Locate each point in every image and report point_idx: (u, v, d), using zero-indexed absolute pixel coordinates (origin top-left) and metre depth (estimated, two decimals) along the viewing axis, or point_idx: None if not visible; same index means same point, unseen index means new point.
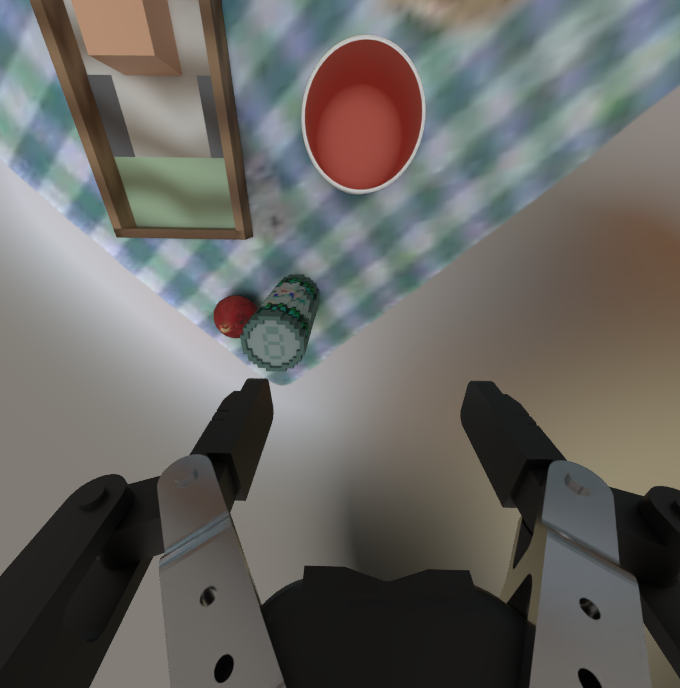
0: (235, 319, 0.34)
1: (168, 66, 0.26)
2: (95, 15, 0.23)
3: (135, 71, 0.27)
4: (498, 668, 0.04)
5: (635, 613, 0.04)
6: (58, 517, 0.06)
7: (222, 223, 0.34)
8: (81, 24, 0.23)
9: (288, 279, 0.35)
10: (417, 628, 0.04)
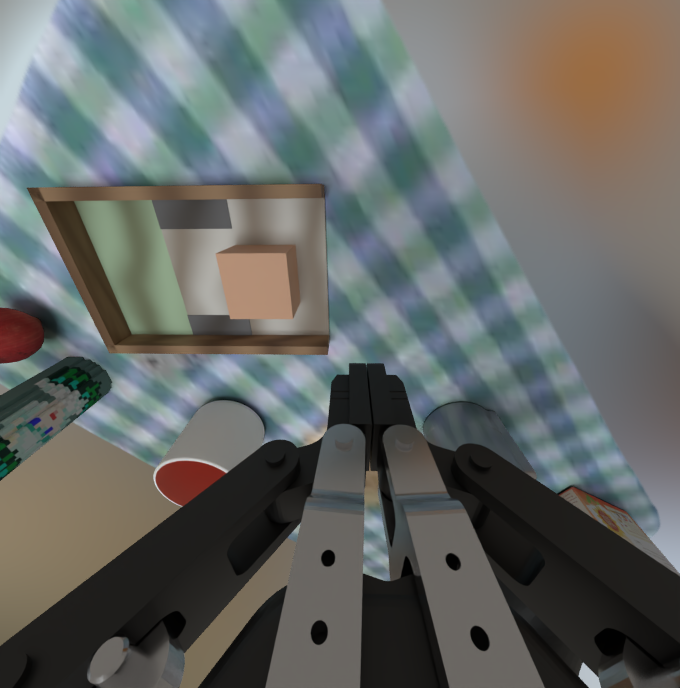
0: None
1: None
2: (247, 273, 0.23)
3: None
4: (498, 668, 0.04)
5: (472, 535, 0.05)
6: (252, 459, 0.07)
7: (127, 313, 0.30)
8: (237, 256, 0.23)
9: (90, 384, 0.33)
10: (417, 628, 0.04)
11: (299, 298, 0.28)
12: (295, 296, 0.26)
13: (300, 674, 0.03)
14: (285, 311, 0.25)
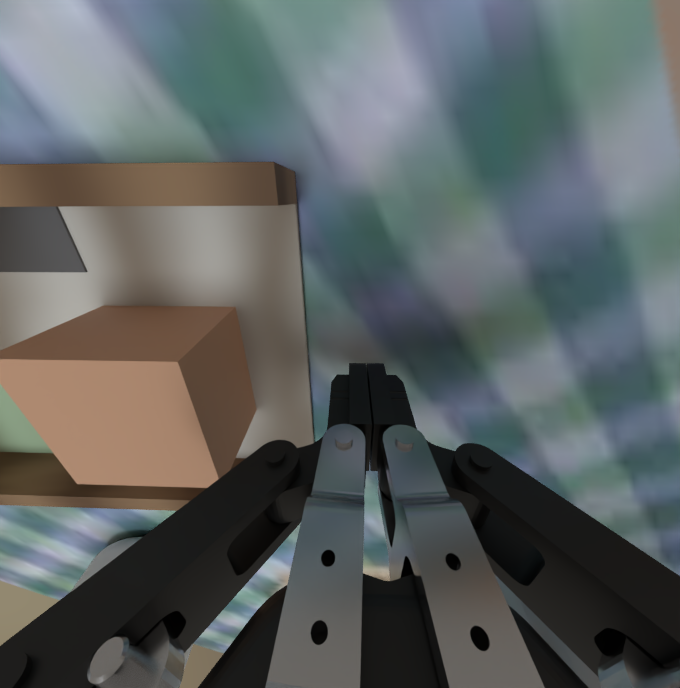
0: None
1: None
2: (85, 404, 0.09)
3: None
4: (498, 668, 0.04)
5: (472, 534, 0.05)
6: (252, 459, 0.07)
7: None
8: (45, 366, 0.08)
9: None
10: (417, 628, 0.04)
11: (252, 406, 0.14)
12: (235, 420, 0.12)
13: (300, 674, 0.03)
14: (200, 475, 0.10)
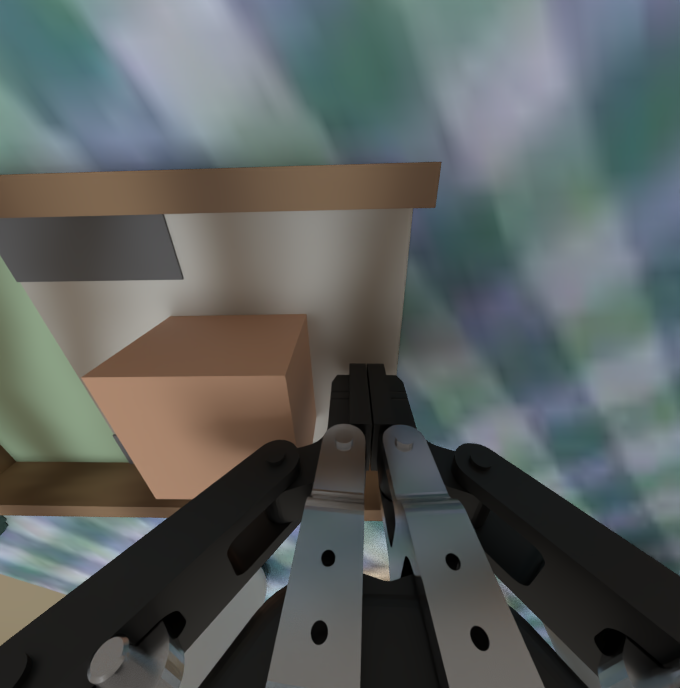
0: None
1: None
2: (180, 420, 0.09)
3: None
4: (498, 668, 0.04)
5: (472, 534, 0.05)
6: (252, 459, 0.07)
7: None
8: (146, 383, 0.08)
9: None
10: (417, 628, 0.04)
11: (314, 413, 0.14)
12: (308, 430, 0.12)
13: (300, 674, 0.03)
14: None
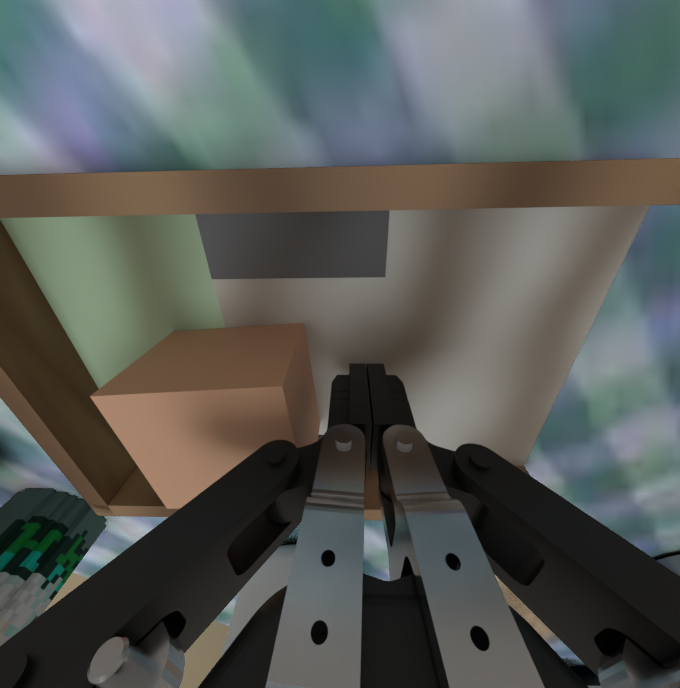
0: None
1: None
2: (185, 432, 0.09)
3: None
4: (498, 668, 0.04)
5: (472, 535, 0.05)
6: (252, 459, 0.07)
7: None
8: (150, 398, 0.08)
9: (65, 546, 0.18)
10: (417, 628, 0.04)
11: (318, 419, 0.14)
12: (311, 436, 0.12)
13: (300, 674, 0.03)
14: None
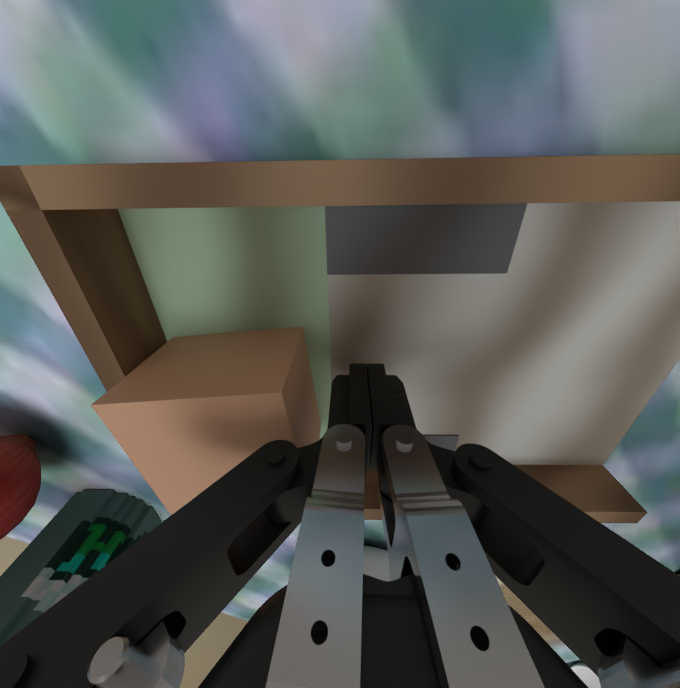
0: None
1: None
2: (186, 439, 0.09)
3: None
4: (498, 668, 0.04)
5: (472, 535, 0.05)
6: (252, 459, 0.07)
7: None
8: (151, 406, 0.08)
9: None
10: (417, 628, 0.04)
11: (318, 422, 0.14)
12: (312, 439, 0.12)
13: (300, 674, 0.03)
14: None
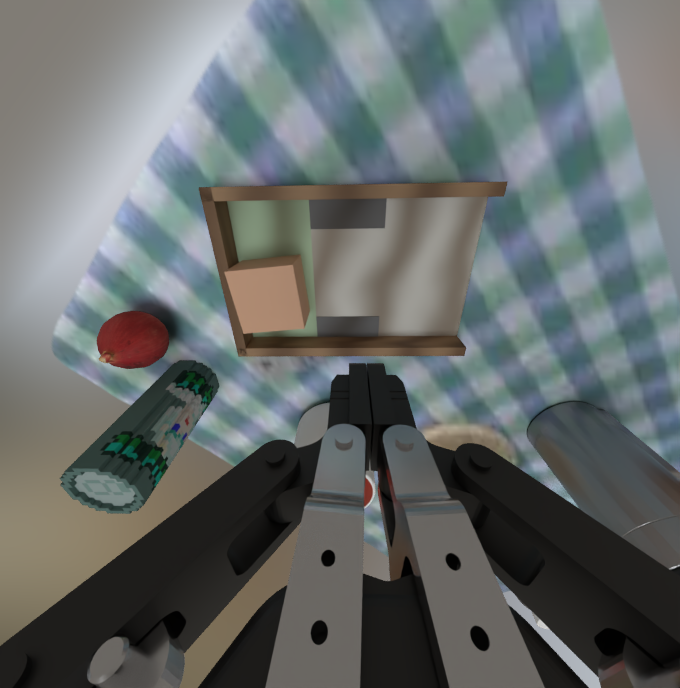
0: (128, 363, 0.26)
1: None
2: (256, 288, 0.24)
3: None
4: (498, 668, 0.04)
5: (472, 534, 0.05)
6: (252, 459, 0.07)
7: None
8: (245, 272, 0.23)
9: (207, 388, 0.32)
10: (417, 628, 0.04)
11: (308, 306, 0.29)
12: (304, 305, 0.27)
13: (300, 674, 0.03)
14: (296, 321, 0.25)
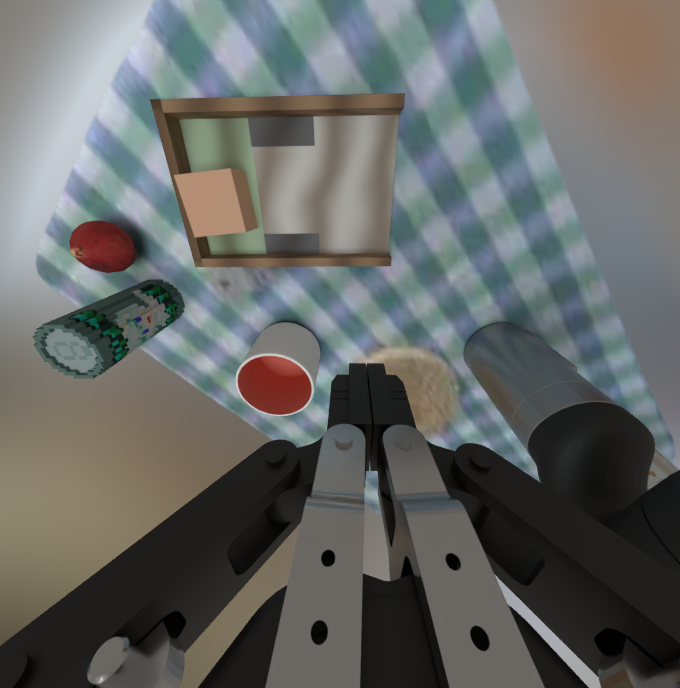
0: (96, 261, 0.30)
1: None
2: (201, 191, 0.28)
3: None
4: (498, 668, 0.04)
5: (472, 534, 0.05)
6: (252, 459, 0.07)
7: None
8: (191, 175, 0.27)
9: (171, 301, 0.37)
10: (417, 628, 0.04)
11: (255, 222, 0.33)
12: (248, 216, 0.31)
13: (300, 674, 0.03)
14: (238, 225, 0.29)
